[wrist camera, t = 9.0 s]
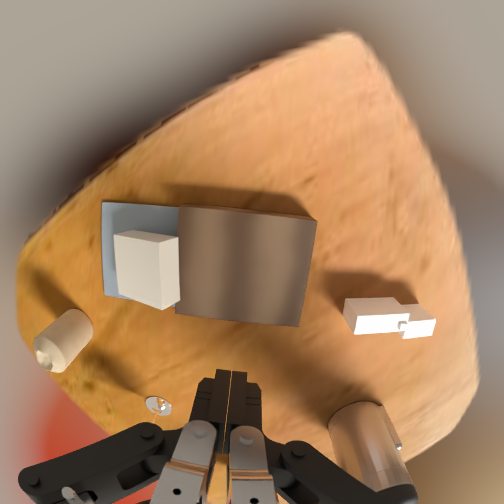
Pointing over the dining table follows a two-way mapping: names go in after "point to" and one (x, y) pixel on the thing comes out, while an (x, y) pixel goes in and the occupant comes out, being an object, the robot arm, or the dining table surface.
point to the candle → (63, 340)
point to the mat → (127, 219)
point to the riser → (243, 264)
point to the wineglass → (158, 407)
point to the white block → (148, 267)
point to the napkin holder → (387, 317)
